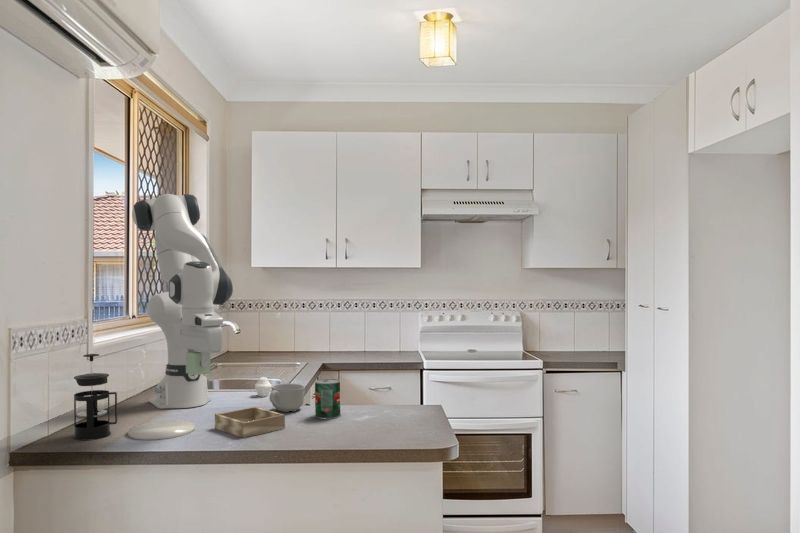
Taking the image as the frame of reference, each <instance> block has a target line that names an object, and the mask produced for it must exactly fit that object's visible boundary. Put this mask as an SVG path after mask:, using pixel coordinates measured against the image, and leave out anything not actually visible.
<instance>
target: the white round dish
mask: <svg viewBox="0 0 800 533" xmlns="http://www.w3.org/2000/svg"><path fill="white" fill-rule="evenodd" d="M195 426H196V424H195V423H194V422H192V421H187V420H179V419H178V420H172V419H171V420H169V419H168V420H158V421H152V422H151V421H150V422H144V423H142V424H137V425H135V426H132V427H131V428H129V429H128V430H127V436H128V437H129V438H131V439H134V440H139V441H159V440H158V439H160V440H168V439H173V437H174V438H179V437H182V435H183V436H185V435H188V434H191V433H193V432H194V431H195V429H196V427H195ZM167 438H168V439H167Z"/></svg>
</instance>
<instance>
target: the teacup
mask: <svg viewBox="0 0 800 533" xmlns="http://www.w3.org/2000/svg"><path fill="white" fill-rule="evenodd" d="M305 389H306V387H305V385H303V384H299V383H276V384H273V385H272V387H271V391H270V392H269V401H270V403H271V404H272V406H273V407H274V408H275V409H276V410H277V411H278V412H281V411H282V412H283V413H290V412H289V411H293V412H296V411H295V410H297V411H298V410H299V409H300V408H301V407H303V404H304V401H305Z"/></svg>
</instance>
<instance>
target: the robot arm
mask: <svg viewBox="0 0 800 533" xmlns="http://www.w3.org/2000/svg"><path fill="white" fill-rule="evenodd" d="M201 213H202V207H201V204H200V202H199V200H198V199H197V197H196V196H195V195H194V194H188V193H186V194H182V195H181V194H180V195H179V194H173V193H164V194H161V195H160V196H158V197H154V198H150V199H146V200H145V199H142V200H138V201H136V202H135V203H134V205H133V208H132V212H131V218H132V221H133V223H134V225H135V226H136V228H137V229H138V230H140V231H142V232H143V231H144V232H150V231H155V233H154V245H155V252H156V258H157V263H158V268H159V274H160V277H161V278H162V279H163V281H165V282H167V283H168V291H163V292H161V293H156V294H153V295H151V297H150V299H149V301H148V303H147V307H146V310H147V314H148V317H149V318H150V320H151V321H152V322H153V323H155V324H156V325H158V327H159V328H160V329H161V331H162V332H163V334H164V336H165V340H166V348H167V364H165V366H166V367H165V372H164V373H165V375H164V376H163V378H161V380H160V381H159V382H158V383H157V385H156V386H155V387H154V394H155V396H154V397H152V398H149V399H148V401H149V403H150V404H152V405H153V406H155V407H156V408H158V409H187V408H195V407H201V406H204V405H206V404H207V403H208V402H210V401H211V400H212V397H211V396H209V390H208V381H207V379H208V378H207V376H205V375H204V374H199V375H192V374H188V373H186V352H193V351H201V355H202V360H201V361H200V366H201V367H207V366H208V360H209V357H210V358H211V354H215V353H217V354H218V353H221V351H222V348H223V329H222V326H223V324H224V318H223V317H222V316H221V315H220V314H218V312H219V309H220V306H222V305H224V304H225V303H227V301H229V300H230V298H231V297H232V295H233V292H234V290H233V283H232V279H231V277H229V275H228V274H227V272H226V271H225V270H224V268H223V266H222V264H221V263H220V260H219V258H218V256H217V254H216V252H215V250H214V248H213V246H212V245H211V243H210V241H209V239H208V237H207V236H205V234H202V233H201V232H200V231H198V229H196V227H195V225H196V224H197V223H198V222H199V220H200V219H201V217H200V216H201ZM192 257H194V258H196V259H198V260H199V261H193V259H192Z"/></svg>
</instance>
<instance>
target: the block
mask: <svg viewBox="0 0 800 533" xmlns="http://www.w3.org/2000/svg"><path fill="white" fill-rule="evenodd" d="M201 360H202V355H201V351H193V352H186V373H188V374H192V375H199V374H203V375H204V374H211V373H212V372H211V356H210V357H209V360H208V366H207V367H201V366H200V361H201Z"/></svg>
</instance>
